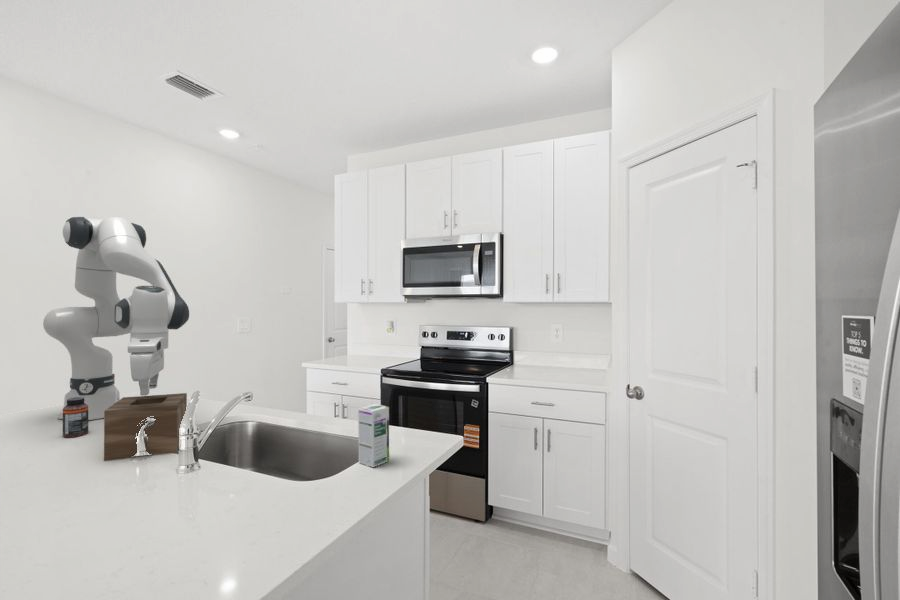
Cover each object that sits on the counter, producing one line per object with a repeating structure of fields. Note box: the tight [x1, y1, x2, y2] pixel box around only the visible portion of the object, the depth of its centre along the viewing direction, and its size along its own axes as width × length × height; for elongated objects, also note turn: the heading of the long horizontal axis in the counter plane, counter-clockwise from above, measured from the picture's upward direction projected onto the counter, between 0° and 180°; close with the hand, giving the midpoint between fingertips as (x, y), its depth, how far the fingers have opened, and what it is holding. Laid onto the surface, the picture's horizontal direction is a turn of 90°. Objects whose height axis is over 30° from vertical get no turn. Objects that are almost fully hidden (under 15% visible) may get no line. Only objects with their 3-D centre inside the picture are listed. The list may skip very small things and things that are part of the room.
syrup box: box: [357, 403, 390, 468], centre depth 109 cm, size 6×6×14 cm
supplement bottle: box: [62, 397, 89, 438], centre depth 129 cm, size 6×6×11 cm
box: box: [103, 392, 188, 462], centre depth 119 cm, size 16×16×13 cm
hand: (149, 391), depth 119 cm, fingers open, 8 cm apart
